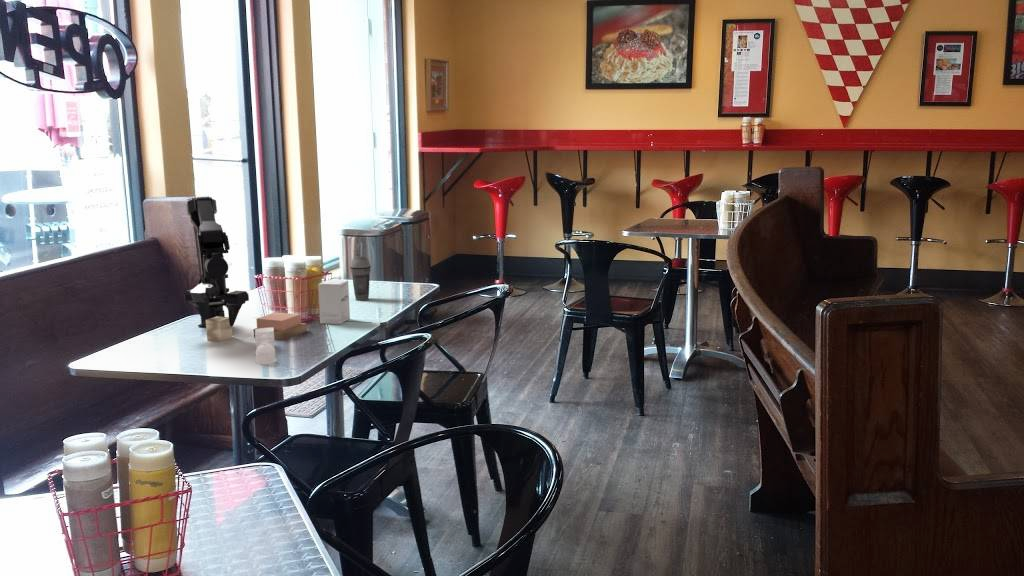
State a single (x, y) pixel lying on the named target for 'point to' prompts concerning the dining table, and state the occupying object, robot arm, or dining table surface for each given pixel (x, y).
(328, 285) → the supplement box
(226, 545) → the dining table surface
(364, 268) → the beverage cup
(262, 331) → the container set
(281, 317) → the terracotta top slab
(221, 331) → the birch cube
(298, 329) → the walnut base slab
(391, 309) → the dining table surface
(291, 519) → the dining table surface
